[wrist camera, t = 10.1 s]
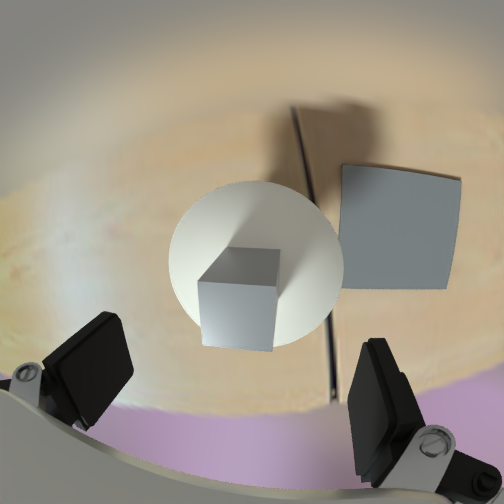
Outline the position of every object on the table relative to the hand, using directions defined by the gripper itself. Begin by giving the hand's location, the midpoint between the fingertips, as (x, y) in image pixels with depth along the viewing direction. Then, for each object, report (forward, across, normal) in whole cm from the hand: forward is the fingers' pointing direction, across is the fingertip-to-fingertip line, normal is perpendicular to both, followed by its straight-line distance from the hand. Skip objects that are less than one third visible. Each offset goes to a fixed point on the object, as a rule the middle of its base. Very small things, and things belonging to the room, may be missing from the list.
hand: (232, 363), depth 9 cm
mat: (+22, -15, -1) cm, 27 cm away
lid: (+10, +1, 0) cm, 10 cm away
